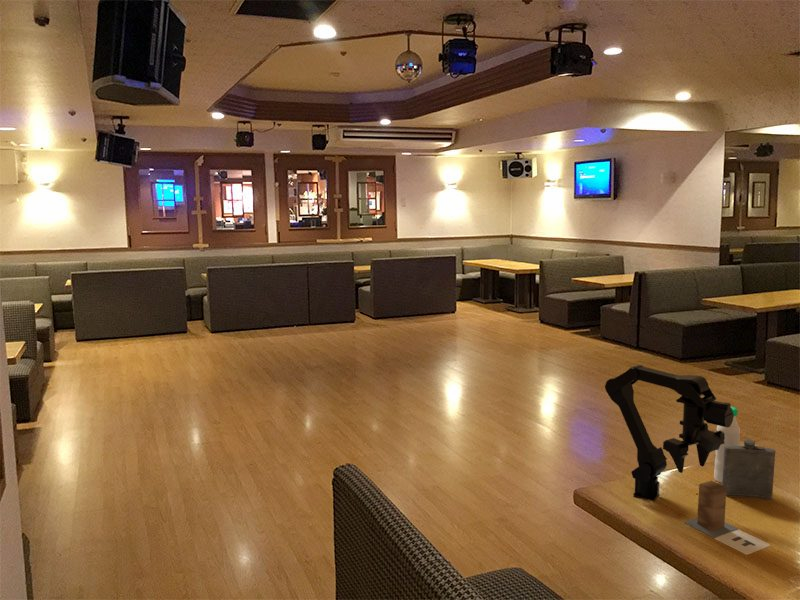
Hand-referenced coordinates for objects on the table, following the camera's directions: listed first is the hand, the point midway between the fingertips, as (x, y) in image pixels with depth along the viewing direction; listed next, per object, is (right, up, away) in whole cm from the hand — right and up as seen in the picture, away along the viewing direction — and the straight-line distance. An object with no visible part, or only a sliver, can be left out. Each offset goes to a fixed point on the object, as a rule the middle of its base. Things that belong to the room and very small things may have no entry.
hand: (691, 469), depth 198 cm
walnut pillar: (+2, -14, -8) cm, 16 cm away
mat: (+2, -14, -8) cm, 17 cm away
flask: (+22, -11, +11) cm, 27 cm away
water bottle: (+21, -9, +22) cm, 32 cm away
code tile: (+6, -16, -17) cm, 24 cm away
